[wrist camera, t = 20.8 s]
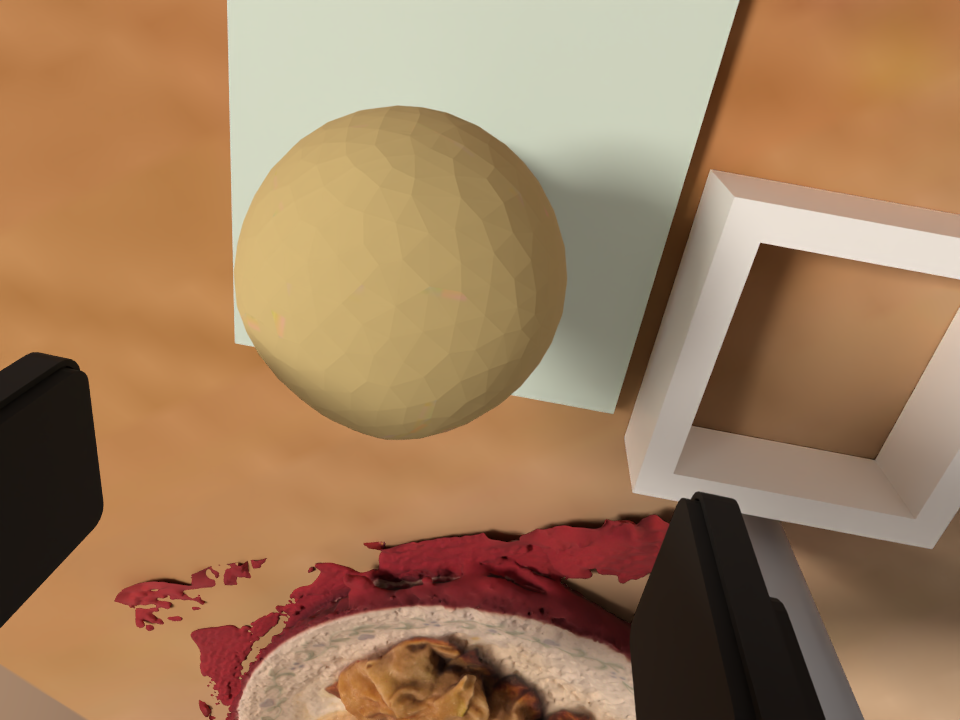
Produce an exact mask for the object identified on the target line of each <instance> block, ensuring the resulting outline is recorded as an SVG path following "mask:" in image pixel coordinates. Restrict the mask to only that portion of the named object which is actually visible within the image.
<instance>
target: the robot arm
mask: <svg viewBox="0 0 960 720" xmlns="http://www.w3.org/2000/svg"><path fill="white" fill-rule="evenodd" d="M102 512H103V495H102V487H101V479H100V471H99V463H98V455H97V446H96V438H95V430H94V422H93V414H92V406H91V398H90V389H89V381H88V377H87V375H86V374H85V373H84V372H82V371H80V368H79V366H78V364H77V363H76V362H75V361H73V360H72V359H67V358H63V357H58V356H53V355H48V354H44V353H39V352H32V353H30V354H28V355H25V356H24V357H22V358H21V359H19V360H17V361H16V362H14V363H13V364H11V365H9V366H8V367H6V368H4V369H3V370H1V371H0V628H1V627H2V626H3V625H4V624H5V623H6V621H7V620H8V619H9V618H10V617H11V616H12V615H13V614H14V613H15V612H16V611H17V610H18V609H19V608H20V607H21V606H22V604H23V603H24V602H25V601H26V600H27V599H28V598H29V597H30V596H31V595H32V594H33V593H34V592H35V591H36V590H37V588H38V587H39V586H40V585H41V584H42V583H43V582H44V581H45V580H46V579H47V578H48V577H49V576H50V575H51V574H52V573H53V571H54V570H55V569H56V568H57V567H58V566H59V565H60V564H61V563H62V562H63V561H64V560H65V559H66V558H67V557H68V555H69V554H70V553H71V552H72V551H73V550H74V549H75V548H76V547H77V546H78V545H79V544H80V543H81V542H82V541H83V540H84V538H85V537H86V536H87V535H88V534H89V533H90V532H91V531H92V530H93V529H94V528H95V526H96V525H97V524H98V522H99V520H100V518H101V515H102ZM630 655H631V666H632V677H633V689H634V700H635V712H636V720H826V718H825V716H824V713H823V710H822V707H821V704H820V702H819V699H818V696H817V693H816V690H815V688H814V685H813V682H812V679H811V677H810V674H809V671H808V668H807V665H806V663H805V660H804V657H803V654H802V651H801V649H800V646H799V643H798V640H797V637H796V635H795V632H794V629H793V626H792V623H791V621H790V618H789V615H788V612H787V610H786V608H785V606H784V604H783V603H782V602H781V601H780V600H779V599H778V598H774V597H769V594H768V591H767V588H766V585H765V582H764V579H763V576H762V573H761V570H760V567H759V564H758V561H757V558H756V555H755V552H754V549H753V546H752V543H751V540H750V537H749V534H748V531H747V528H746V525H745V522H744V519H743V516H742V513H741V510H740V507H739V505H738V503H737V501H736V500H735V499H733V498H728V497H724V496H719V495H714V494H709V493H705V492H700V491H697V492H695V493H694V494H693V496H692V498H691V499H687V498H681V499H680V500H679V502H678V504H677V506H676V509H675V511H674V514H673V516H672V519H671V522H670V524H669V527H668V529H667V532H666V535H665V537H664V540H663V542H662V545H661V548H660V550H659V553H658V555H657V558H656V560H655V563H654V566H653V568H652V571H651V573H650V576H649V579H648V581H647V584H646V586H645V589H644V592H643V594H642V597H641V599H640V602H639V605H638V607H637V610H636V612H635V615H634V618H633V621H632V624H631V630H630Z"/></svg>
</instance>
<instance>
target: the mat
mask: <svg viewBox="0 0 960 720" xmlns="http://www.w3.org/2000/svg"><path fill="white" fill-rule="evenodd" d="M738 3H739V0H227V15H228V59H229V103H230V148H231V192H232V236H233V280H234V266H235V258H236V251H237V243H238V239H239V235H240V232H241V228H242V224H243V221H244V219H245V216H246V214H247V211H248V209H249V207H250V204H251V202H252V200H253V197H254V195H255V194H256V192H257V191H258V189H259V187H260V186H261V184H262V183H263V181H264V179H265V178H266V176H267V175H268V173H269V171H270V170H271V169H272V168H273V167H274V166H275V165H276V164H277V163H278V162H279V161H280V160H281V159H282V158H283V156H284V155H285V154H286V153H287V152H288V151H289V150H290V149H291V148H292V147H293V146H294V145H295V144H296V143H298V142H299V141H300V140H301V139H302V138H304V137H305V136H307V135H309V134H310V133H312V132H313V131H315V130H316V129H318V128H319V127H321V126H323V125H324V124H326V123H327V122H330V121H332V120H335V119H338V118H340V117H343V116H346V115H349V114H351V113H354V112H357V111H360V110H366V109H374V108H381V107H389V106H397V105H399V106H413V107H424V108H428V109H433V110H438V111H442V112H447V113H449V114H452V115H454V116H456V117H459V118H461V119H463V120H466V121H468V122H470V123H473V124H475V125H477V126H479V127H481V128H482V129H484V130H485V131H487V132H488V133H489V134H491V135H492V136H494V137H495V138H497V139H498V140H500V141H501V142H503V143H504V144H506V145H507V146H508V147H509V148H510V149H511V150H512V151H513V152H514V153H515V154H516V155H517V156H518V157H519V158H520V159H521V160H522V161H523V162H524V163H525V164H526V166H527V167H528V168H529V170H530V171H531V172H532V173H533V175H534V176H535V177H536V179H537V180H538V181H539V183H540V185H541V186H542V188H543V190H544V192H545V194H546V196H547V198H548V200H549V202H550V204H551V206H552V208H553V209H554V212H555V215H556V219H557V222H558V225H559V229H560V232H561V236H562V239H563V242H564V246H565V255H566V268H567V286H566V293H565V300H564V307H563V314H562V317H561V319H560V322H559V325H558V327H557V330H556V333H555V335H554V338H553V341H552V343H551V345H550V347H549V348H548V350H547V352H546V353H545V355H544V357H543V358H542V360H541V362H540V363H539V365H538V366H537V367H536V369H535V370H534V371H533V372H532V373H531V375H530V376H529V377H528V378H527V380H526V381H525V382H524V383H523V384H522V386H521V387H520V388H518V389H517V390H516V391H515V392H514V393H512V394H511V395H514V396H520V397H525V398H530V399H536V400H541V401H546V402H552V403H557V404H563V405H568V406H573V407H579V408H584V409H589V410H595V411H600V412H605V413H611V414H614V410H615V407H616V404H617V401H618V397H619V394H620V391H621V387H622V384H623V381H624V378H625V374H626V371H627V368H628V364H629V361H630V358H631V355H632V351H633V348H634V345H635V341H636V338H637V335H638V332H639V328H640V325H641V322H642V318H643V315H644V312H645V309H646V305H647V302H648V299H649V295H650V292H651V289H652V286H653V282H654V279H655V276H656V272H657V269H658V266H659V263H660V259H661V256H662V253H663V249H664V246H665V243H666V240H667V236H668V233H669V230H670V226H671V223H672V220H673V217H674V213H675V210H676V207H677V203H678V200H679V197H680V194H681V190H682V187H683V184H684V180H685V177H686V174H687V171H688V167H689V164H690V161H691V158H692V154H693V151H694V148H695V144H696V141H697V138H698V135H699V131H700V128H701V125H702V121H703V118H704V115H705V112H706V108H707V105H708V102H709V98H710V95H711V92H712V89H713V85H714V82H715V79H716V75H717V72H718V69H719V66H720V62H721V59H722V56H723V52H724V49H725V46H726V43H727V39H728V36H729V33H730V29H731V26H732V23H733V20H734V16H735V13H736V10H737V6H738ZM234 324H235V343H237V344H242V345H248V346H253V347H255V346H254V345H253V343H252V341H251V339H250V337H249V336H248V334H247V332H246V330H245V327H244V324H243V321H242V319H241V316H240V313H239V311H238V308H237V303H236V293H235V282H234Z"/></svg>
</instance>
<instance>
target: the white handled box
mask: <svg viewBox="0 0 960 720" xmlns="http://www.w3.org/2000/svg"><path fill="white" fill-rule="evenodd" d="M760 243H765V244H770V245H776V246H781V247H787V248H792V249H797V250H803V251H808V252H814V253H819V254H825V255H830V256H836V257H841V258H846V259H852V260H857V261H863V262H868V263H874V264H879V265H884V266H890V267H895V268H901V269H906V270H912V271H917V272H923V273H928V274H933V275H939V276H944V277H950V278H955V279H960V215H958V214H953V213H947V212H942V211H936V210H931V209H925V208H920V207H914V206H909V205H903V204H898V203H893V202H887V201H882V200H876V199H871V198H865V197H860V196H854V195H849V194H843V193H838V192H832V191H827V190H821V189H816V188H810V187H805V186H800V185H794V184H789V183H783V182H778V181H772V180H767V179H761V178H756V177H750V176H745V175H739V174H734V173H728V172H723V171H717V170H712V169H710V172H709V175H708V178H707V181H706V184H705V187H704V190H703V194H702V197H701V200H700V203H699V206H698V209H697V212H696V215H695V219H694V222H693V225H692V228H691V231H690V234H689V237H688V240H687V244H686V247H685V250H684V253H683V256H682V259H681V262H680V265H679V268H678V272H677V275H676V278H675V281H674V284H673V287H672V290H671V293H670V297H669V300H668V303H667V306H666V309H665V312H664V315H663V318H662V322H661V325H660V328H659V331H658V334H657V337H656V340H655V343H654V346H653V350H652V353H651V356H650V359H649V362H648V365H647V368H646V371H645V375H644V378H643V381H642V384H641V387H640V390H639V393H638V396H637V400H636V403H635V406H634V409H633V412H632V415H631V418H630V421H629V425H628V428H627V431H626V434H625V437H624V440H625V446H626V453H627V459H628V466H629V473H630V479H631V486H632V492H633V493H637V494H642V495H647V496H653V497H658V498H663V499H668V500H674V501H679V500H680V499H681V498H687V499H691V498H692V496H693V494H694V493H695V492H697V491H700V492H705V493H709V494H714V495H719V496H724V497H728V498H733V499H735V500H736V501H737V503H738V505H739V507H740V510H741V513H742V516H743V519H744V522H745V525H746V528H747V531H748V534H749V537H750V540H751V543H752V546H753V549H754V552H755V555H756V558H757V561H758V564H759V567H760V570H761V573H762V576H763V579H764V582H765V585H766V588H767V591H768V594H769V597H774V598H778V599H779V600H780V601H781V602H782V603H783V604H784V606H785V608H786V610H787V612H788V615H789V618H790V621H791V623H792V626H793V629H794V632H795V635H796V637H797V640H798V643H799V646H800V649H801V651H802V654H803V657H804V660H805V663H806V665H807V668H808V671H809V674H810V677H811V679H812V682H813V685H814V688H815V690H816V693H817V696H818V699H819V702H820V704H821V707H822V710H823V713H824V716H825V718H826V720H864V718H863V715H862V713H861V711H860V708H859V706H858V704H857V701H856V699H855V696H854V694H853V692H852V689H851V687H850V685H849V682H848V680H847V678H846V675H845V673H844V671H843V668H842V666H841V663H840V661H839V659H838V656H837V654H836V652H835V649H834V647H833V645H832V642H831V640H830V637H829V635H828V633H827V630H826V628H825V626H824V623H823V621H822V619H821V616H820V614H819V612H818V609H817V607H816V604H815V602H814V600H813V597H812V595H811V593H810V590H809V588H808V586H807V583H806V581H805V579H804V576H803V574H802V571H801V569H800V567H799V564H798V562H797V560H796V557H795V555H794V553H793V550H792V548H791V545H790V543H789V541H788V538H787V536H786V534H785V531H784V529H783V527H782V524H781V522H780V521H785V522H790V523H796V524H801V525H806V526H812V527H817V528H822V529H827V530H833V531H838V532H843V533H849V534H854V535H859V536H865V537H870V538H875V539H880V540H886V541H891V542H896V543H902V544H907V545H912V546H918V547H923V548H928V549H933V547H934V546H935V544H936V543H937V541H938V540H939V538H940V537H941V535H942V534H943V532H944V531H945V529H946V528H947V526H948V525H949V523H950V522H951V520H952V519H953V517H954V516H955V514H956V513H957V511H958V510H959V508H960V308H959V310H958V311H957V313H956V315H955V317H954V319H953V320H952V322H951V324H950V326H949V328H948V329H947V331H946V333H945V335H944V337H943V338H942V340H941V342H940V344H939V346H938V347H937V349H936V351H935V353H934V355H933V356H932V358H931V360H930V362H929V364H928V365H927V367H926V369H925V371H924V373H923V375H922V376H921V378H920V380H919V382H918V384H917V385H916V387H915V389H914V391H913V393H912V394H911V396H910V398H909V400H908V402H907V403H906V405H905V407H904V409H903V411H902V412H901V414H900V416H899V418H898V420H897V421H896V423H895V425H894V427H893V429H892V431H891V432H890V434H889V436H888V438H887V440H886V441H885V443H884V445H883V447H882V449H881V450H880V452H879V454H878V456H877V458H876V459H875V460H872V459H866V458H861V457H856V456H850V455H845V454H840V453H834V452H829V451H824V450H818V449H813V448H808V447H802V446H797V445H792V444H786V443H781V442H776V441H770V440H765V439H760V438H754V437H749V436H744V435H738V434H733V433H728V432H722V431H717V430H711V429H706V428H701V427H695V426H691V425H692V423H693V420H694V418H695V415H696V412H697V410H698V407H699V404H700V402H701V399H702V396H703V394H704V391H705V388H706V386H707V383H708V380H709V378H710V375H711V372H712V370H713V367H714V364H715V362H716V359H717V356H718V354H719V351H720V348H721V346H722V343H723V340H724V338H725V335H726V332H727V330H728V327H729V324H730V322H731V319H732V316H733V314H734V311H735V308H736V306H737V303H738V300H739V298H740V295H741V292H742V290H743V287H744V285H745V282H746V279H747V277H748V274H749V271H750V269H751V266H752V263H753V261H754V258H755V255H756V253H757V250H758V247H759V245H760Z"/></svg>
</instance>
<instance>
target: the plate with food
mask: <svg viewBox="0 0 960 720" xmlns="http://www.w3.org/2000/svg"><path fill="white" fill-rule="evenodd" d="M668 527H669V523H667V522H665V521H663V520H662V519H661V518H660V517H659V516H657V515H649V516H648V517H646V518H643V519H642V520H641V521H640V522H639V523H638V524H636V525H635V523H634V522H633V521H629V520H624V521H623V520H618V521H611V520H605V523H604V524H603V526H602V527H600V528H597V529H588V528H581V527H579V528H578V527H570V526H566V525H562V526H555V527H553V528H549V529H536V530H534V531H532V532H530V533H528V534H525V535H522V536H521V537H520V538H519V539H520V540H511V541H510V542H503V541H500V540H491V539H489V538H488V537H487V536H486V535H485V534H484V533H481V534H478V535H472V536H467V535H466V536H463V537H451V538H448V537H446V538H445V537H443V538H437V539H434V540H426V541H422V542H419V543H415V542H411V543H407V544H402V545H398V546H395V547H392V548H389V549H385V544H386V543H385V542H373V543H364V545H365V546H367V547H368V548H371V549H377V550H381V551H382V552H381V553H380V555H379V568H378V569H372V570H370V571H368V572H364V573H360V572H357V571H355V570H353V569H351V568H349V567H346V566H342V565H338V564H335V563H317V564H315V567H316V568H317V569H319V570H320V571H321V573H320V575H319V576H318V578H317V579H316V580H315V581H314V582H313V584H311V585H308V586H303V587H299V588H297V589H295V590H294V591H293V592H292V594H291V595H290V598H291V599H292V598H294V599H295V602H296V603H295V604H294V603H292V601H291V600H289V602H290V603H291V604H288V605H287V604H286V606H276V610H277V611H278V612H279V613H270V614H268V615H267V616H263V617H262V618H259V619H258V620H256V621H255V622H252V623H251V625H252V626H253V627H252V628H251V627H250V626H243V627H242V628H241V629H239V628H237V627H236V626H234V625H226V626H220V627H210V628H203V629H198V630H196V631H193V632H192V633H191V637H192V639H193V640H194V642H195V643H196V644H197V646H198V647H199V649H200V652H201V656H200V660H201V664H200V669H201V673H202V675H203V676H209V677H211V678H212V679H211V681H214V682H215V683H216V685H214V687H213V689H214V690H218V692H219V694H218V696H216V697H217V700H218V699H220V700H221V701H222V704H223V705H227V706H229V705H231V706H230V707H229V711H230V712H231V713H227V716H228V717H227V718H226V720H636V712H635V700H634V689H633V677H632V666H631V655H630V630H631V624H630V623H628V622H626V621H624V620H622V619H619V618H618V617H616V616H615V615H614V614H612V613H610V612H608V611H606V610H605V609H603V608H602V607H600V606H598V605H597V604H596V603H594V602H592V601H590V600H588V599H586V598H585V597H584V596H583V595H582V594H581V593H579V592H578V591H575V590H571V588H570V587H567V585H566V584H565V583H564V584H561V578H563V577H566V578H565V579H566V580H567V579H568V578H572V579H578V578H582V579H588V578H590V577H591V576H592V572H591V570H590V569H595V568H596V570H597V572H598V573H599V574H602V575H616V576H618V579H619V582H620V583H625V582H627V581H629V580H631V579H634V580H637V579H639V578H641V577H644V576H646V575H647V574H648V573H651V571H652V568H653V566H654V563H655V560H656V558H657V555H658V553H659V550H660V548H661V545H662V542H663V540H664V537H665V535H666V532H667V529H668ZM266 559H267V558H265V559H263V560H259V561H254V560H251V563H252V566H253V568H260V567H261V564H263V563H264V562H265V561H266ZM236 563H237V562H236ZM228 565H230V566H231V568H230V569H226V570H225V574H224V584H225V585H237V582H236V580H237V577H245V578H251V576H250V574H249V572H248V561H247V562H245V563H244V564H243V565H240V564H239V563H238V566H237V565H236V564H235V563H232V564H228ZM219 566H220V565H219ZM211 567H212V566H211ZM211 567H208V568H206V569H204V570H202V571H199V572H197V573H195V574H192V577H191V578H192V583H191V584H192V586H187V585H179V584H172V583H166V582H156V581H154V582H143V583H138V584H135V585H133V586H130V587H127V588H125V589H123V590H122V591H121V592H120V593H119V594H118V595H117V596H116V598H115V602H119V603H122V604H125V605H129V607H130V608H132V607H133V608H135V607H134V606H137V605H148V604H155V605H156V608H150V609H142V608H136V610H135V611H136V620H135V621H136V626H137V627H139V628H142V627H144V626H145V624H144V622H143V621H149V622H151V623H157V624H164V622H163V621H162V620H161V619H157V618H156V617H155V615H153V614H152V612H154V611H155V612H158V611H159V610H158V608H161V607H162V608H165V609H169V608H170V606H171V605H172V603H170V602H166V601H159V600H157V598H166V597H168V596H167V595H170V599H172V600H174V599H181V600H194V601H197V602H199V603H200V604H202V605H203V604H204V603H205V602H204V601H203V600H201V597H196V598H193V599H192V598H190V597H188V596H187V595H186V594H184V593H183V591H184V590H190V589H198V588H207V587H213V586H215V580H212V579H209V578H208V577H207V576H206V570H207V569H210V570H211V572H212V573H213V574H214V575H215V577H216V578H218V577H219V573H218V572H217V571H215V570H213V569H212V568H211ZM313 570H314V567H311V568H309V570H308V573H310V572H312V571H313ZM152 589H159V590H158V591H151V590H152ZM198 596H200V595H198ZM133 605H134V606H133ZM192 609H193V610H199V609H200V608H199V607H192ZM283 611H284V612H285V613H287V614H288V615H289V616H290V618H289V619H288V622H287V621H286V622H285V621H284V623H285V624H286V627H285V628H283V632H282V633H280V634H278V635H274V636H273V637H272V640H271V642H272V643H270V644H268V646H267V647H265V648H263V649H260V652H259V653H260V654H258V655H257V657H256V659H257V658H258V659H257V661H255V662H251V663H250V665H249V666H250V668H249V671H248V672H247V673H246V672H245V673H244V675H242V674H241V670H242V669H243V667H242V665H241V663H242V661H244V660H246V659H247V656H248V654H249V653H250V651H252V648H251V647H252V645H253V643H254V642H255V641H256V640H257V641H258V640H259V639H260V637H263V636H264V635H265V634H266V633H267V632H268V631H269V629H271V628H272V627H273V626H275V625H276V624H277V623H278V620H279V619H280V618H279V616H286V617H287V614H282V613H281V612H283ZM168 619H169V620H172V621H181V620H182V619H183V618H181V617H179V616H175V617H168ZM146 629H147V630H148V631H151V630H153V629H154V627H153V626H152V625H146ZM248 630H250V631H251V632H248ZM251 633H253V635H252V634H251ZM258 636H259V637H258ZM250 641H251V642H250ZM257 648H258V647H257ZM239 677H241V678H242V679H239ZM210 683H211V682H210ZM211 684H212V683H211ZM207 686H208V687H209V685H207ZM215 693H216V692H215ZM211 696H214V695H212V694H211ZM219 702H220V701H219ZM219 702H218V704H220V703H219ZM218 704H217V703H216V705H218ZM199 707H200V710H201V711H202V713H203V715H204V716H205V717H208V716H209V714H210V713H211V709H209V706H207V704H206V703H205V702H202V701H200V700H199ZM209 719H210V720H213V719H215V717H213V716H211V715H210V716H209Z"/></svg>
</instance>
